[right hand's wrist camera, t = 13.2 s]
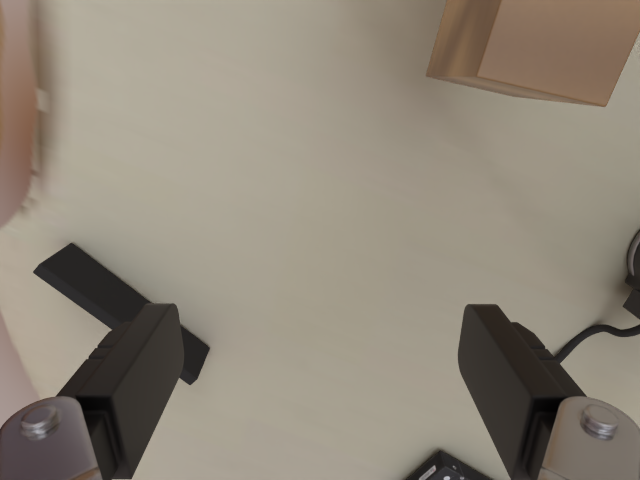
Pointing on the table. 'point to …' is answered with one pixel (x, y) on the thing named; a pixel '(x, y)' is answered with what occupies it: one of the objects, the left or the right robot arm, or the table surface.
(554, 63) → the box
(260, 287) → the table surface
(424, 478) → the disk drive
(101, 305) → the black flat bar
